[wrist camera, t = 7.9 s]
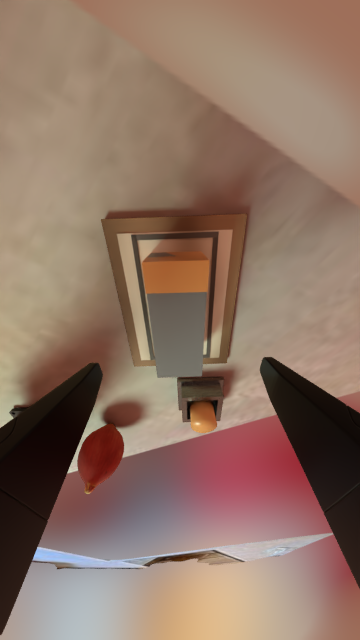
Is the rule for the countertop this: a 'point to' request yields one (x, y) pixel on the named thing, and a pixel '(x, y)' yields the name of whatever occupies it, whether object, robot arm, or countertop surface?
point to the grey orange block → (177, 310)
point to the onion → (100, 456)
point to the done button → (202, 416)
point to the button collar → (200, 394)
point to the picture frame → (177, 236)
